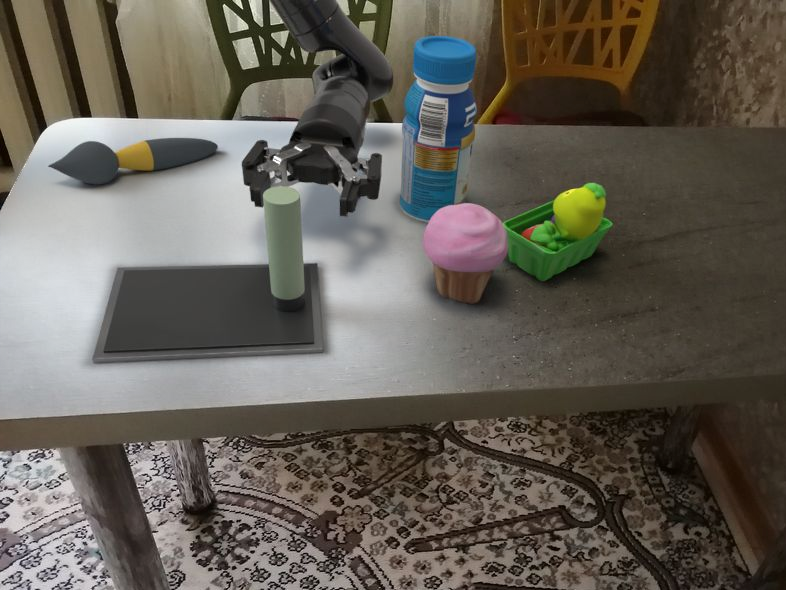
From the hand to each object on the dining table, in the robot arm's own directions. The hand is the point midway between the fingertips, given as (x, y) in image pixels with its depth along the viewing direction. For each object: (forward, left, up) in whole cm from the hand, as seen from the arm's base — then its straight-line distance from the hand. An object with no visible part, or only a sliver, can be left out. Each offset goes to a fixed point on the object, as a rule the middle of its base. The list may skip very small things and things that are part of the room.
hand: (300, 204), depth 74 cm
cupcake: (+14, -10, -9) cm, 19 cm away
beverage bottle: (+20, +6, -9) cm, 22 cm away
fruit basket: (+27, -10, -9) cm, 30 cm away
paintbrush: (-9, +28, -9) cm, 31 cm away
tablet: (-10, -3, -8) cm, 14 cm away
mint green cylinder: (-4, -5, -7) cm, 10 cm away
